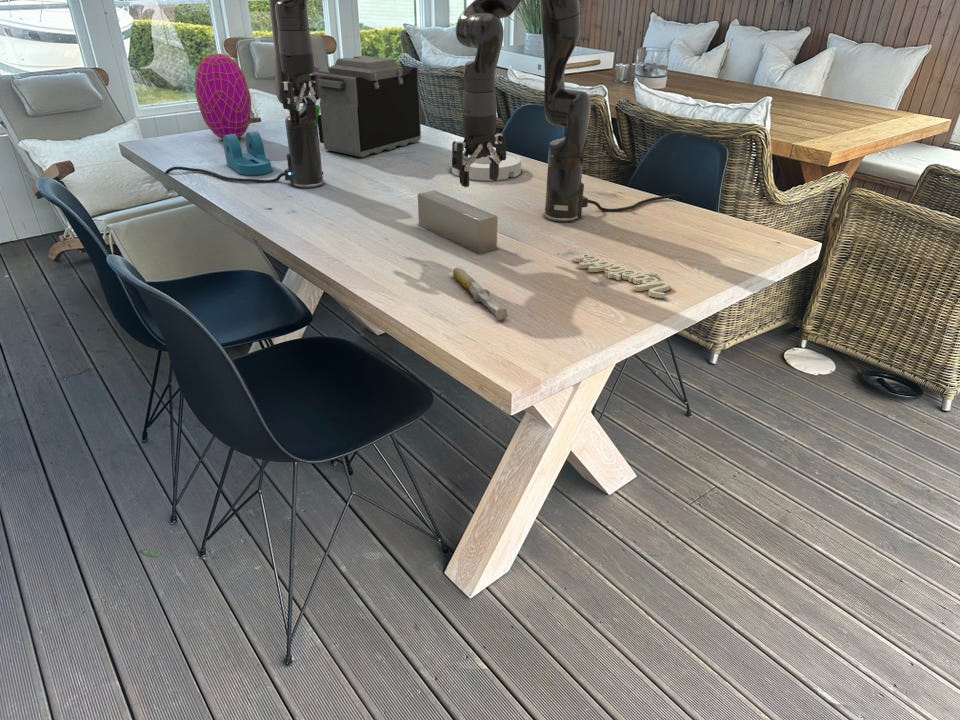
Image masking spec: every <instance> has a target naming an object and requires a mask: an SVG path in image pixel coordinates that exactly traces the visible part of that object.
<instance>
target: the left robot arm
mask: <svg viewBox="0 0 960 720" xmlns="http://www.w3.org/2000/svg"><path fill="white" fill-rule="evenodd" d="M268 4H269V14H270V15H269V16H270V24H271V33H272V40H273V41H272V43H273V57H274V62H273V63H274V87H275V94H276V97H277V100H278V102H279V103H280V104H282V108H283V109H284V110H287V111H288V112H289V115H288V116H286V117H285V120H284V123H285V131H286V138H287V146H288V153H287V154H286V161H287V168H286V169H283V172H281V173H279V174H278V175H277V176H276V177H275V178H271V179H258V178H239V177H232V176H231V177H230V176H226V175H222V174H219V173H217V172H214V171H210V170H207V169H202V168H193V167H185V166H172V167H169V168H168V169H166V170H165V171H164V173H163V174H164V175H168V174H169V173H170V172H173V171H177V170H179V171H187V172H195V173H196V172H197V173H198V172H199V173H204V174H208V175H210V176H214V177H217V178H219V179H222V180H225V181H231V182H242V183H259V184H260V183H261V184H262V183H263V184H264V183H275V182H278V181H280V179H281V178H283V177H284V181H287V182H288V181H289V184H290V186H294V187H296V188H300V189H301V188H303V189H310V188H317V187H320V186H322V185H324V184H325V182H324V171H323V167H322V157H321V147H320V139H319V130H318V123H317V115H316V105H317V103H318V100H319V101H320V96H319V88H318V81H317V75H316V74H311V73H313V72H314V71H315V69H314V66H315V60H314V49H313V42H312V41H313V40H312V36H311V32H310V31H311V30H310V23H309V11H308V0H268ZM301 104H302V105H301ZM301 106H302V108H301Z"/></svg>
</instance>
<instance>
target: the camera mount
mask: <svg viewBox="0 0 960 720" xmlns="http://www.w3.org/2000/svg"><path fill="white" fill-rule="evenodd" d="M222 140H223V141H222V143H223V149H224V150H223V151H224V156H225V161H226V165H227V166H228V167H230V168H231V169H232V170H234V171H236V172H237V173H238V174H239V175H244V176H260V175H265V174H268V173H271V172H272V164H271V159H270V158H268V157H267V156H266V153H265V145H264V141H263V139H262V136H261V134H260V132H258V131H246V132H245V146H246V152H243V151H242V150H243V149H242V146H241V142H240V140H239V138H237V136H236V135H235V134H230V135H224V137H223V139H222Z"/></svg>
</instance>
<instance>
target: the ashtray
mask: <svg viewBox="0 0 960 720" xmlns="http://www.w3.org/2000/svg"><path fill="white" fill-rule="evenodd" d="M463 153H464V151H463ZM468 157H471V156H470V155H468ZM490 163H491V162H490V160H489V159H488V157H481V158H479V159H475V161H474V163H472V164H471V166H470V168H469V170H468V171H469V180H471V181H482V182H483V181H486V182H487V181H488V182H489V181H491V182H492V181H494V180H491V179H490V177H489V174H490ZM521 172H522V158H521V157H520V156H519V155H517V154H515V153H512V152H508V151H506V160H502V161H501V162H500V164H499V176H498V179H497V180H496V181H503V180H508V179H509V178H515V177H517V176H519V175H521ZM451 173H452V174H453V175H454V176H456V177H460V172H459V170H458V169H455V168H453V167H452V166H451ZM494 182H495V181H494Z"/></svg>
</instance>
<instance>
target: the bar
mask: <svg viewBox="0 0 960 720" xmlns="http://www.w3.org/2000/svg"><path fill="white" fill-rule="evenodd" d="M417 209H418V210H417V212H418V215H417V217H418V225H419V226H420V227H422V228H425V229H427V230H429V231H431V232H433V233H435V234H438V235H440V236H441V237H443V238H445V239H448V240H449V241H452V242H454V243H456V244H458V245H461V246H462V247H464V248H466V249H468V250H470V251H473V252H475V253H477V254H479V255H480V254H484V253H488V252H491V251H495V250H497V249H498V215H496V214H494V213H491V212H489V211H486V210H484V209H482V208H479V207H476V206H474V205H471V204H469V203H466V202H464V201H462V200H459V199H457V198H455V197H452V196H449V195H447V194H444V193H443V192H440V191H438V190H435V189H434V190H429V191H424V192H420V193H417Z"/></svg>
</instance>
